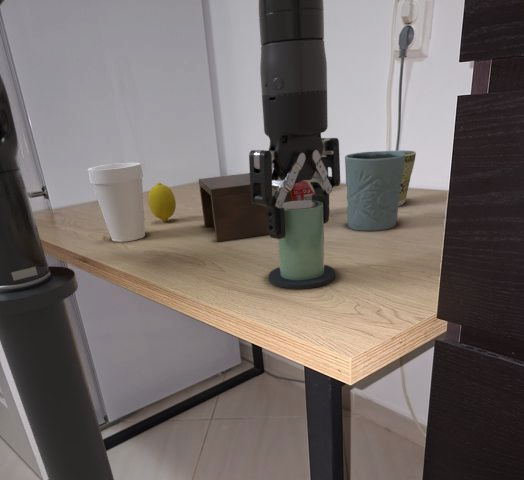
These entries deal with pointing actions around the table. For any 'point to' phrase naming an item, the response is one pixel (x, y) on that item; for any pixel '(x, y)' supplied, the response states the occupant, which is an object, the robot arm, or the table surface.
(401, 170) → the embossed teal tumbler
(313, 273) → the cup
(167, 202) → the lemon
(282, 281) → the coaster
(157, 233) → the table surface
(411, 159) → the ceramic cup
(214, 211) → the shelf
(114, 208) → the foam cup
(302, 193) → the soda can
